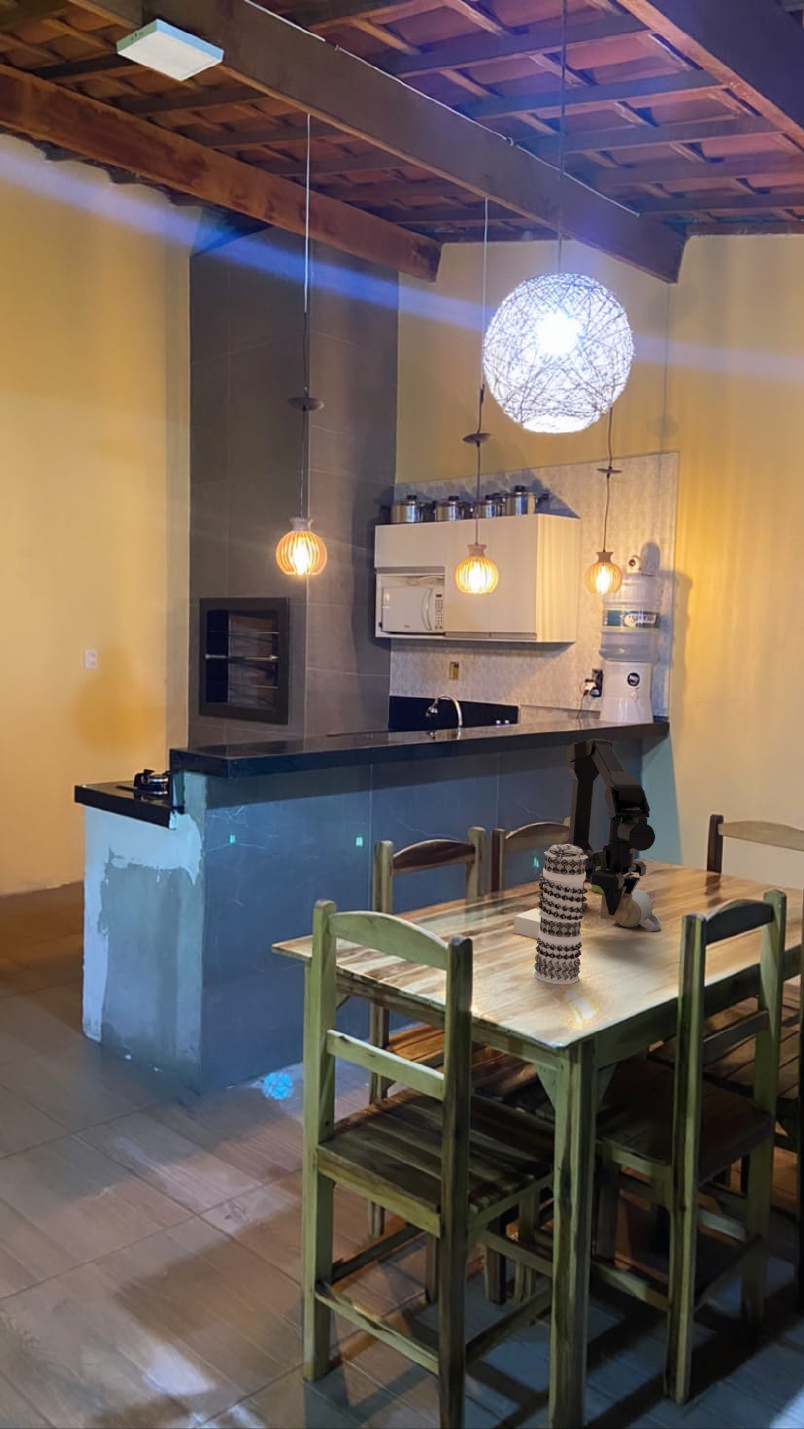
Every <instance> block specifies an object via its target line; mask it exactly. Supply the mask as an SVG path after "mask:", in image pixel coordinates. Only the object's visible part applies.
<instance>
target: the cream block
mask: <svg viewBox="0 0 804 1429" xmlns="http://www.w3.org/2000/svg"><path fill="white" fill-rule="evenodd" d="M540 910H541V909H540V908H532V909H530V910H528V911H527V910H526V911H524V912H522V913H519V914H516V915H514V917H513V918H514V920H513V931H512V932H513V933H514V934H517V935H521V936H524V937H528V938H533V939H537V938H538V934H539V929H540V920H541V917H540V916H539V911H540ZM513 933H512V934H513Z"/></svg>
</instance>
